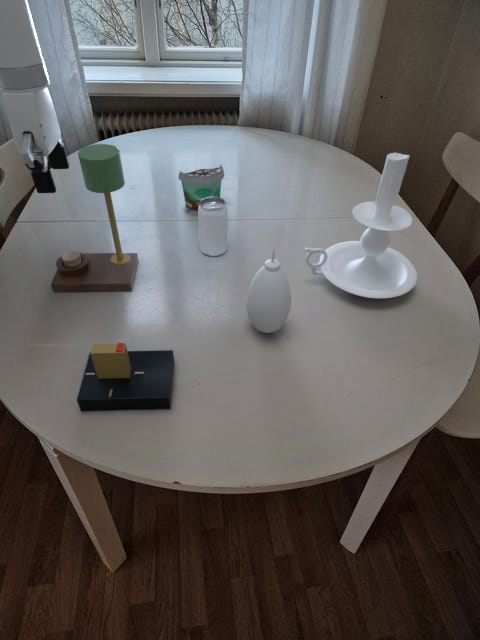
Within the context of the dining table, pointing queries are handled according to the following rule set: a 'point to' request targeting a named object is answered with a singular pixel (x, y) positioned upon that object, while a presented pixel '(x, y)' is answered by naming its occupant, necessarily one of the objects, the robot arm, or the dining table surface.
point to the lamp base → (95, 274)
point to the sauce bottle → (269, 297)
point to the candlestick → (372, 244)
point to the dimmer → (130, 384)
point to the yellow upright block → (111, 360)
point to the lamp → (105, 184)
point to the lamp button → (71, 259)
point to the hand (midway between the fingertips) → (54, 179)
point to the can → (212, 226)
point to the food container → (201, 185)
